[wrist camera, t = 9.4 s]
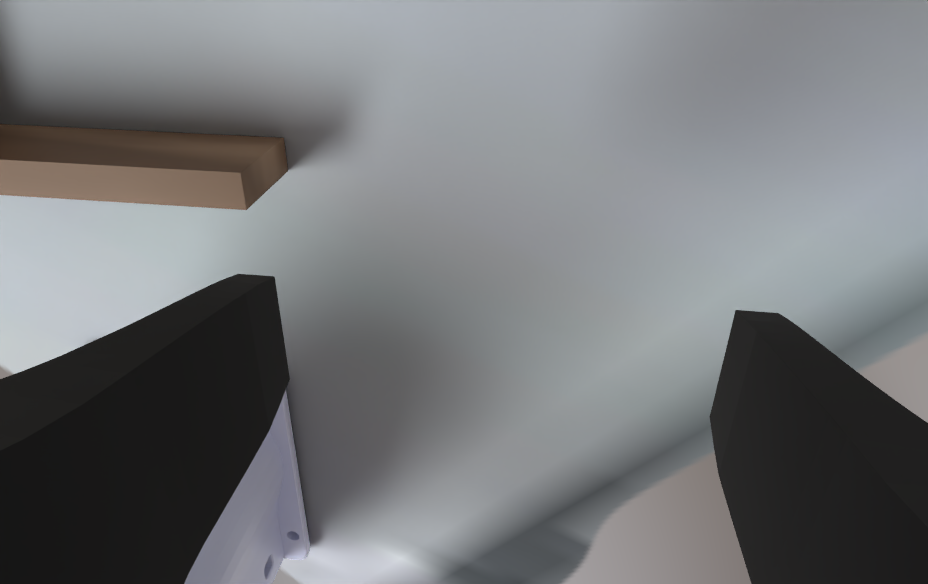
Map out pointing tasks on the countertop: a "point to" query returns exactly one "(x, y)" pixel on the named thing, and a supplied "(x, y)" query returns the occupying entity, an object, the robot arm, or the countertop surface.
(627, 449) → the countertop surface
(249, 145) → the comb rack
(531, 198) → the countertop surface
